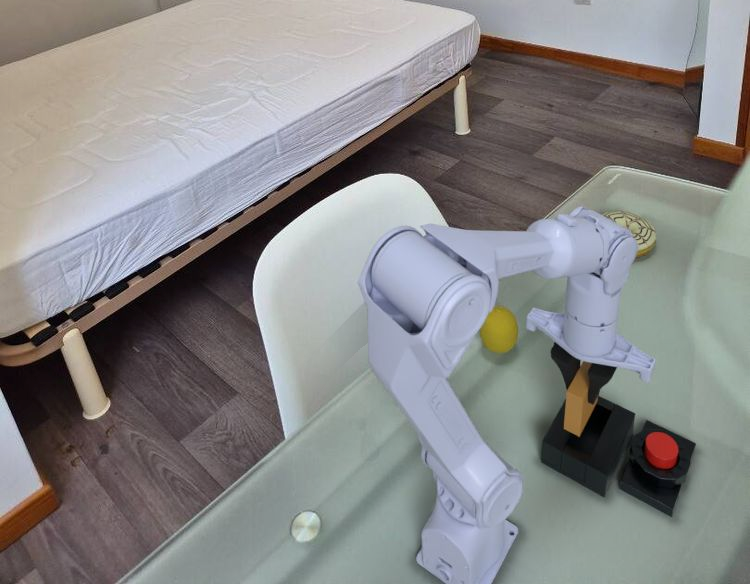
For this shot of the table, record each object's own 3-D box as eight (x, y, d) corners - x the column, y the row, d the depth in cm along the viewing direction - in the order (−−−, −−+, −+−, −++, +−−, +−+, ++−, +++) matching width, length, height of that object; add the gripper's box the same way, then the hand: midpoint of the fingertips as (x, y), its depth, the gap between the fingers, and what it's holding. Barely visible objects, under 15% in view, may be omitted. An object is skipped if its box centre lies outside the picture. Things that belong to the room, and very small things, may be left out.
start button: (671, 474, 80) (673, 465, 79) (640, 458, 82) (641, 449, 81) (680, 451, 82) (682, 441, 82) (649, 436, 84) (651, 426, 84)
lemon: (517, 367, 98) (518, 325, 95) (478, 362, 99) (478, 321, 96) (517, 337, 103) (519, 297, 100) (480, 333, 104) (480, 293, 101)
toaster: (604, 498, 81) (607, 476, 79) (540, 462, 85) (542, 441, 83) (632, 434, 88) (635, 413, 86) (572, 404, 92) (574, 383, 90)
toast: (579, 437, 82) (583, 399, 79) (563, 428, 83) (566, 391, 80) (597, 401, 86) (601, 363, 83) (582, 393, 87) (585, 356, 84)
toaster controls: (673, 519, 78) (677, 502, 77) (616, 487, 82) (619, 471, 80) (696, 451, 85) (700, 435, 84) (643, 425, 89) (645, 409, 87)
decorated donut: (577, 239, 122) (578, 222, 121) (618, 217, 127) (620, 200, 125) (624, 271, 114) (626, 253, 112) (667, 246, 119) (669, 229, 117)
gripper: (669, 311, 76) (655, 397, 82) (545, 264, 84) (540, 345, 90) (649, 354, 71) (636, 442, 77) (519, 299, 79) (516, 383, 85)
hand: (583, 392), depth 83 cm, fingers closed on toast, 2 cm apart
